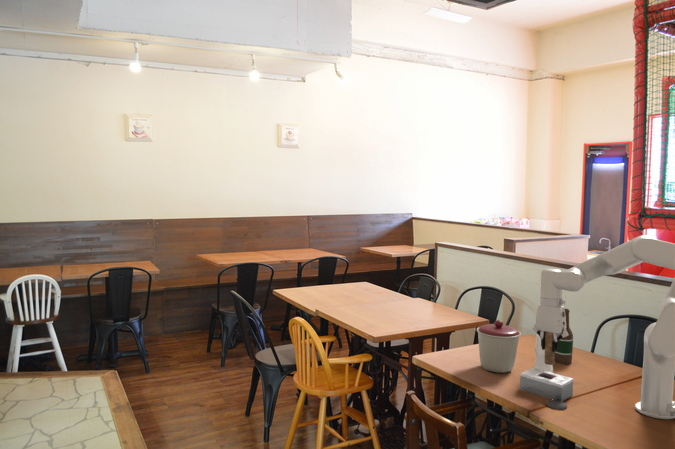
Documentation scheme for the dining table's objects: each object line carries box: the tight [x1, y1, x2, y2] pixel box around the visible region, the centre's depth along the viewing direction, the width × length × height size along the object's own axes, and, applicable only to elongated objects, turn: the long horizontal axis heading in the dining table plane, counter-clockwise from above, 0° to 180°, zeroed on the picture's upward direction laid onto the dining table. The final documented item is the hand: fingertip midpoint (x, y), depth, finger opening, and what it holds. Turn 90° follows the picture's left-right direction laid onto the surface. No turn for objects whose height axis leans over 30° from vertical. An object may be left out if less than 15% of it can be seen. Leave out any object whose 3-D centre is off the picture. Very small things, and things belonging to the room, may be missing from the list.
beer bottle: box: [554, 307, 574, 366], centre depth 241 cm, size 8×8×24 cm
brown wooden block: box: [544, 332, 555, 366], centre depth 204 cm, size 3×3×14 cm
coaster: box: [545, 399, 568, 411], centre depth 193 cm, size 7×7×1 cm
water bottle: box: [533, 333, 554, 373], centre depth 220 cm, size 7×7×25 cm
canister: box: [476, 319, 522, 374], centre depth 230 cm, size 18×18×21 cm
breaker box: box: [519, 367, 574, 402], centre depth 205 cm, size 16×10×6 cm, turn 45°
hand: (549, 349), depth 204 cm, fingers closed on brown wooden block, 3 cm apart
